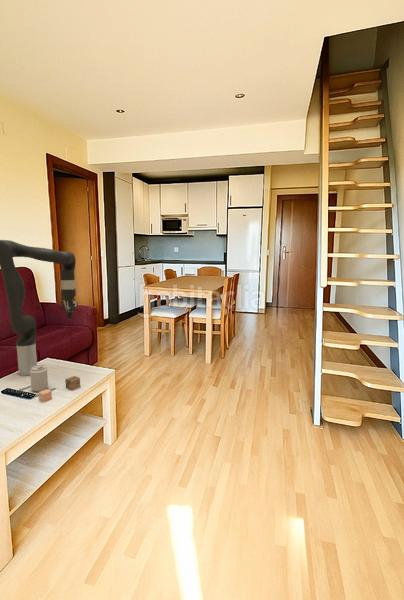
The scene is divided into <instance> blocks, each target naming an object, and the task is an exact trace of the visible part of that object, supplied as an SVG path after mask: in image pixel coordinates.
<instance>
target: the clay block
mask: <svg viewBox="0 0 404 600" xmlns="http://www.w3.org/2000/svg"><path fill="white" fill-rule="evenodd" d="M37 393H38V394H39V396H38V401H40V402H42V403H46V402H47V401H50V400H53V396H52V391H50V389H48V388H47V389H45V390H43V391H40V392H37Z"/></svg>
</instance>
